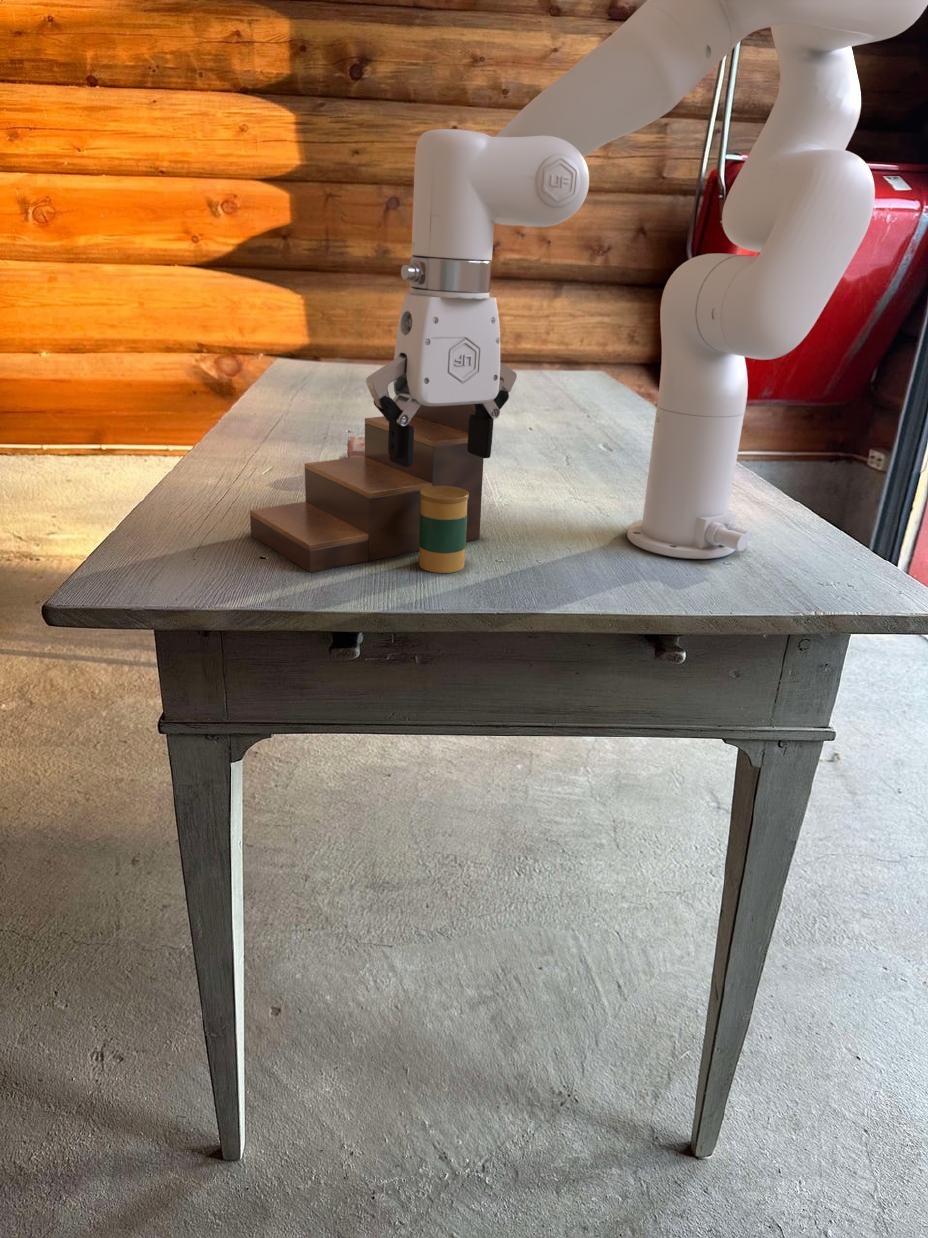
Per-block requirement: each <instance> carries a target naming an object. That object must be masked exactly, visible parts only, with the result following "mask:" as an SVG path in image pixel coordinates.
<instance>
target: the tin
mask: <svg viewBox="0 0 928 1238" xmlns="http://www.w3.org/2000/svg"><path fill="white" fill-rule="evenodd" d="M420 497H421V511H420V533H419V546H420V551H419V555H418V556H419V558H418V565H419V567H420V568H421V570H422V569H423V570H425V571H427V572H431V573H438V574H450V573H451V574H452V573H456V572H459V571H462V570H463V569H465V561H466V560H465V559H466V546H467V541H466V530H467V499H468V497H469V493H468V491H466V490H464V489H461V488H458V487H452V486H431V487H426V488H423V489H422V490H421V491H420Z"/></svg>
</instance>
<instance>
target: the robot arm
mask: <svg viewBox="0 0 928 1238" xmlns="http://www.w3.org/2000/svg"><path fill="white" fill-rule="evenodd" d="M927 6H928V0H646V1H645V2H644V3H643V4H642V5H640V7H638V8H637V10H635V11H634V12H633V13H632V15H630V17H628V18H627V20H626V21H625V22H624V23H622V24H621V25H620V26H619V27H618V28H616V30H615V31H614V32H613V33H612V34H611V35H609V36H608V37H607V38H606V39H605V40H603V41H602V42H601V43H600V44H598V45H597V46H596V47H594V48H593V49H591V51H589V52H588V53H587V54H586V55H585V56H584V57H582V58H581V59H580V60H579V61H578V62H576V63H575V65H573V66H572V67H570V69H568V70H567V71H566V72H565V73H564V74H562V75H561V76H559V78H557V79H556V80H555V81H554V82H552V83H551V84H550V85H549V86H547V87H546V88H544V90H542V91H541V92H540V93H539V94H538V95H536V96H535V97H534V98H533V99H532V100H531V101H530V102H529V103H527V104H526V105H525V106H524V107H523V108H522V109H521V110H520V111H519V112H518V113H517V114H516V115H515V116H514V117H513V118H512V119H511V120H509V122H508V123H507V124H506V125H505V126H504V127H503V128H502V129H500V131H498V133H497V134H496V135H495V136H491V135H489V134H487V133H484V132H480V131H474V130H467V129H457V128H438V129H430V130H426V131H425V132H423V133H422V134H421V135H420V136H419V137H418V139H417V141H416V145H415V152H414V154H415V155H414V172H413V173H414V175H413V199H412V200H413V201H412V228H411V253H410V254H411V257H410V261H409V263H408V264H403V265H402V266H401V268H400V276H401V279H402V280H404V281H409V292H404V295H403V299H402V304H401V309H400V312H399V317H398V323H397V330H396V337H395V345H394V346H395V347H394V354H393V359H392V361H389V362H388V363H387V364H385V365H384V366H382V367H380V368H379V369H377V370H376V371H374V372H373V373H370V375H368V376H367V377H366V379H365V383H366V386H367V389H368V391H369V393H370V396H371V397H372V398H373V406H374V407H376V409H377V410H378V411H379V412H380V413H381V414H382V416H384V419H385V420H386V421H389V438H388V452H389V455H390V456H389V457H390V461H391V462H394V463H396V464H399V465H401V466H403V467H410V466H411V465H412V464H413V445H414V428H413V426H411V425H409V422H410V420H411V419H412V417H413V416H414V415H415V413H416V412H417V410H418V409H419V407H420V406H421V405H425V406H451V405H466V404H470V405H471V406H472V408H473V410H474V411H475V414H470V418H469V430H468V445H467V451H468V452H469V453H470V454H473V455H476V456H479V457H482V458H484V459H489V458H491V455H492V445H493V435H494V420H496V419H498V418H499V417H500V413H501V409H503V407H504V405H505V404H506V403H507V402H508V400H509V399H510V393H511V391H512V388H513V386H514V384H515V382H516V380H517V377H518V375H517V373H516V371H514V370H512V368H510V367H508V366H507V365H505V364H504V363H502V361H501V327H500V326H501V325H500V316H499V309H498V303H497V302H498V301H497V297H494V296H490V291H491V277H492V265H493V263H492V260H493V252H494V251H493V250H494V237H495V236H494V235H495V224H497V225H503V226H518V227H519V226H520V227H526V228H527V227H529V228H530V227H531V228H546V227H547V228H548V227H552V226H556V225H559V224H561V223H564V222H566V221H567V220H569V219H570V218H572V217H573V216H574V215H575V214H576V213H577V212H578V211H579V210H580V209H581V207H582V206H583V204H584V203H585V200H586V198H587V195H588V192H589V187H590V174H589V173H590V172H589V168H588V164H587V162H586V160H585V158H586V157H587V156H589V155H590V154H592V153H593V152H595V151H597V150H598V149H600V148H601V147H603V146H605V145H606V144H609V143H611V142H613V141H615V140H617V139H620V138H622V137H625V136H626V135H630V134H631V133H634V132H636V131H639V130H641V129H643V128H644V127H647V126H648V125H650V124H653V122H655V121H657V120H659V119H660V118H661V117H663V116H665V115H667V114H668V113H669V112H671V111H672V110H673V109H674V108H675V107H676V106H678V104H679V103H680V102H681V101H682V100H683V99H684V98H685V97H686V96H687V95H688V94H689V93H690V92H691V91H692V90H693V89H694V88H695V87H696V86H697V85H698V84H699V83H700V82H701V81H702V80H703V79H704V78H705V77H706V76H707V75H708V74H709V73H710V72H711V71H712V70H713V69H714V68H715V67H716V66H717V65H718V64H719V63H720V62H721V61H722V60H723V59H724V58H725V57H726V56H727V55H728V54H729V53H730V52H731V51H733V49H734V48H735V47H736V46H737V45H738V44H739V43H740V42H741V41H742V40H744V39H745V38H747V37H748V36H749V35H751V34H752V33H753V32H756V31H759V30H765V29H768V28H770V32H771V36H772V40H773V43H774V48H775V51H776V55H777V61H778V62H777V63H778V67H779V85H778V86H779V87H778V92H777V96H776V99H775V102H774V104H773V107H772V109H771V110H770V114H769V115H768V117H767V120H766V122H765V124H764V126H763V127H762V130H761V131H760V133H759V135H758V137H757V139H756V141H755V142H754V145H753V146H752V148H751V149H750V151H749V153H748V155H747V157H746V159H745V161H744V162H743V165H742V167H741V168H740V171H739V172H738V174H737V176H736V177H735V179H734V181H733V184H732V185H731V187H730V189H729V191H728V194H727V195H726V199H725V202H724V204H723V208H722V213H721V223H722V229H723V232H724V234H725V236H726V237H727V238H728V240H729V241H730V242H731V243H732V244H733V245H735V246H737V247H739V248H740V249H744V250H745V251H751V252H755V253H759V254H758V255H757V256H754V255H749V254H747V255H746V254H738V253H737V254H735V253H722V252H721V253H718V252H716V253H705V254H701V255H697V256H694V257H692V258H690V259H688V260H686V261H685V262H683V263H682V264H680V265H679V266H678V267H676V269H675V270H674V271H673V273H672V274H671V275H670V277H669V278H668V280H667V282H666V284H665V286H664V289H663V292H662V296H661V300H660V308H659V311H660V314H659V315H660V317H659V320H660V321H659V322H660V323H659V324H660V338H661V340H660V341H661V364H660V378H659V387H658V396H657V402H656V403H657V404H656V410H655V417H654V426H653V432H652V433H653V435H652V441H651V449H650V456H649V457H650V458H649V465H648V472H647V473H648V474H647V482H646V488H645V489H646V490H645V498H644V504H643V505H644V506H643V512H642V513H643V514H642V519H640V520H639V519H638V520H636V521H634V522H632V523H631V524H629V526H628V528H627V535H626V536H627V539H628V541H629V542H630V543H632V545H634V546H636V547H638V548H640V549H642V550H645V551H647V552H651V553H654V554H658V555H661V556H667V557H672V558H679V559H690V560H708V559H709V560H710V559H717V558H723V557H726V556H729V555H731V554H733V553H734V552H735V551H737V552H743V551H744V550H745V549H746V548H747V546H748V543H749V542H750V541H751V539H752V535H753V532H752V531H751V530H749V529H747V528H743V527H738V526H736V524H735V523H736V517H737V512H735V511H732V510H729V509H730V504H731V503H730V502H731V497H732V491H733V485H734V477H735V472H736V467H737V460H738V453H739V449H740V443H741V436H742V431H743V423H744V418H745V413H746V407H747V400H748V390H749V383H748V381H749V379H748V369H747V365H746V364H747V363H746V358H748V359H754V360H759V361H761V360H762V361H765V360H773V359H774V360H775V359H778V358H781V357H784V356H786V355H787V354H789V353H790V352H792V351H793V350H794V349H796V348H797V347H798V346H799V345H800V344H801V343H802V342H803V340H804V339H805V338H806V337H807V336H808V334H809V333H810V331H811V330H812V328H813V327H814V326H815V324H816V323H817V320H818V319H819V318H820V315H821V314H822V312H823V311H824V308H825V307H826V305H827V304H828V302H829V301H830V299H831V297H832V295H833V293H834V291H835V290H836V288H837V286H838V285H839V283H840V281H841V279H842V278H843V276H844V274H845V272H847V271H846V270H847V269H848V267H849V265H850V263H851V262H852V260H853V259H854V257H855V255H856V254H857V251H858V249H859V247H860V246H861V244H862V243H863V240H864V238H865V236H866V234H867V232H868V229H869V227H870V223H871V220H872V217H873V213H874V208H875V207H874V206H875V201H876V200H875V199H876V189H875V188H876V187H875V181H874V177H873V174H872V171H871V169H870V167H869V166H868V164H867V163H866V162H865V160H864V159H862V157H860V156H859V155H857V154H855V153H853V152H851V151H849V150H846V149H847V147H848V145H849V142H850V141H851V139H852V137H853V134H854V132H855V130H856V128H857V125H858V122H859V119H860V115H861V109H862V95H861V94H862V93H861V86H860V81H859V77H858V72H857V67H856V62H855V58H854V53H853V52H854V51H853V49H852V47H855V46H860V45H866V44H870V43H871V44H872V43H875V42H880V41H884V40H888V39H890V38H893V37H896V36H898V35H900V34H901V33H903V32H905V31H907V30H908V29H909V28H910V27H911V26H913V25H914V24H915V23H916V21H918V19H919V18H920V17H921V15H922V14H923V13H924V11H925V10H926V9H927ZM391 383H393V392H394V394H395V396H394V397H393V398H392V397H391V396H390V394H389V389H388V388H389V385H390V384H391Z"/></svg>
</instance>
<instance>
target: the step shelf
mask: <svg viewBox="0 0 928 1238" xmlns="http://www.w3.org/2000/svg"><path fill="white" fill-rule="evenodd" d="M470 414H475V411H474V410H473V408H472V406H471V405H470V404H466V405H451V406H425V405H421V406H420V407H419V409H418V410H417V412H416V413H415V415H414V416H413V417H412V419H411V420H410V422H409V425H411V426H413V428H414V445H413V464H412V465H411V466H410V467H403V466H401V465H399V464H396V463H394V462H391V461H390V457H389V456H390V455H389V452H388V438H389V421H386V420H385V419H384V415H382V416H374V417H373V416H372V417H365V418H364V437H365V456H361V457H353V458H345V459H339V458H337V459H330V460H322V461H321V460H320V461H313V462H305V463H304V495H305V501H299V502H292V503H287V504H280V505H273V506H267V507H260V508H252V509H249V522H250V523H249V525H250V536H251V537H253V538H255V539H256V540H258V541H259V542H261V543H262V544H264V545H265V546H268V548H270V549H272V550H274V551H275V552H277V553H278V554H280V555H282V556H284V557H285V558H286V559H288V560H289V561H291V562H292V563H294V564H295V565H297V566H299V567H300V568H302V569H303V570H305V571H306V572H309V573H315V572H318V571H325V570H330V569H336V568H340V567H344V566H345V567H346V566H350V565H354V564H355V565H356V564H360V563H364V562H365V563H366V562H370V561H375V560H381V559H386V558H389V557H391V558H392V557H396V556H400V555H406V554H410V553H415V552H420V546H419V533H420V511H421V497H420V491H421V490H422V489H423V488H426V487H431V486H452V487H458V488H461V489H464V490H466V491H468V493H469V497H468V499H467V530H466V542H470V541H476V540H480V534H481V518H482V517H481V516H482V499H483V498H482V497H483V479H484V478H483V476H484V460H485V458H482V457H479V456H476V455H473V454H470V453H469V452H468V451H467V445H468V430H469V418H470Z"/></svg>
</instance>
